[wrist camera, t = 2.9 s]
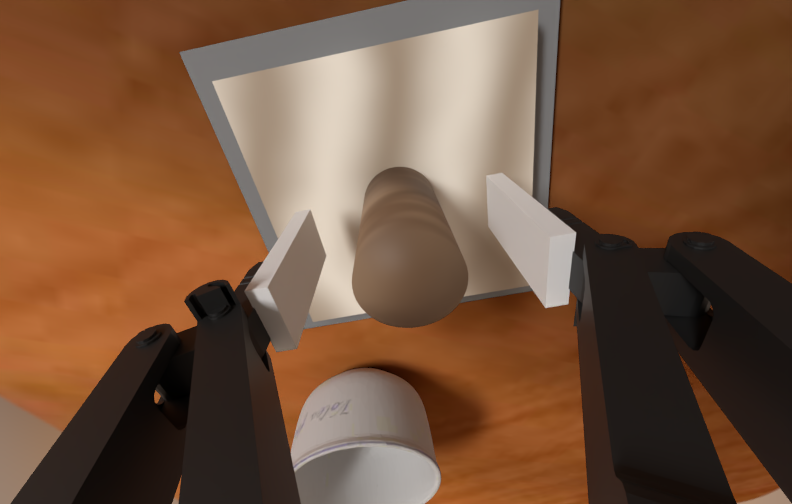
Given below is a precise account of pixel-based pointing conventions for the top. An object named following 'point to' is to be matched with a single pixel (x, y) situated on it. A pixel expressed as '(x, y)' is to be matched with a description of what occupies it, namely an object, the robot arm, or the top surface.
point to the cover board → (396, 162)
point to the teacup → (364, 442)
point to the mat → (421, 14)
